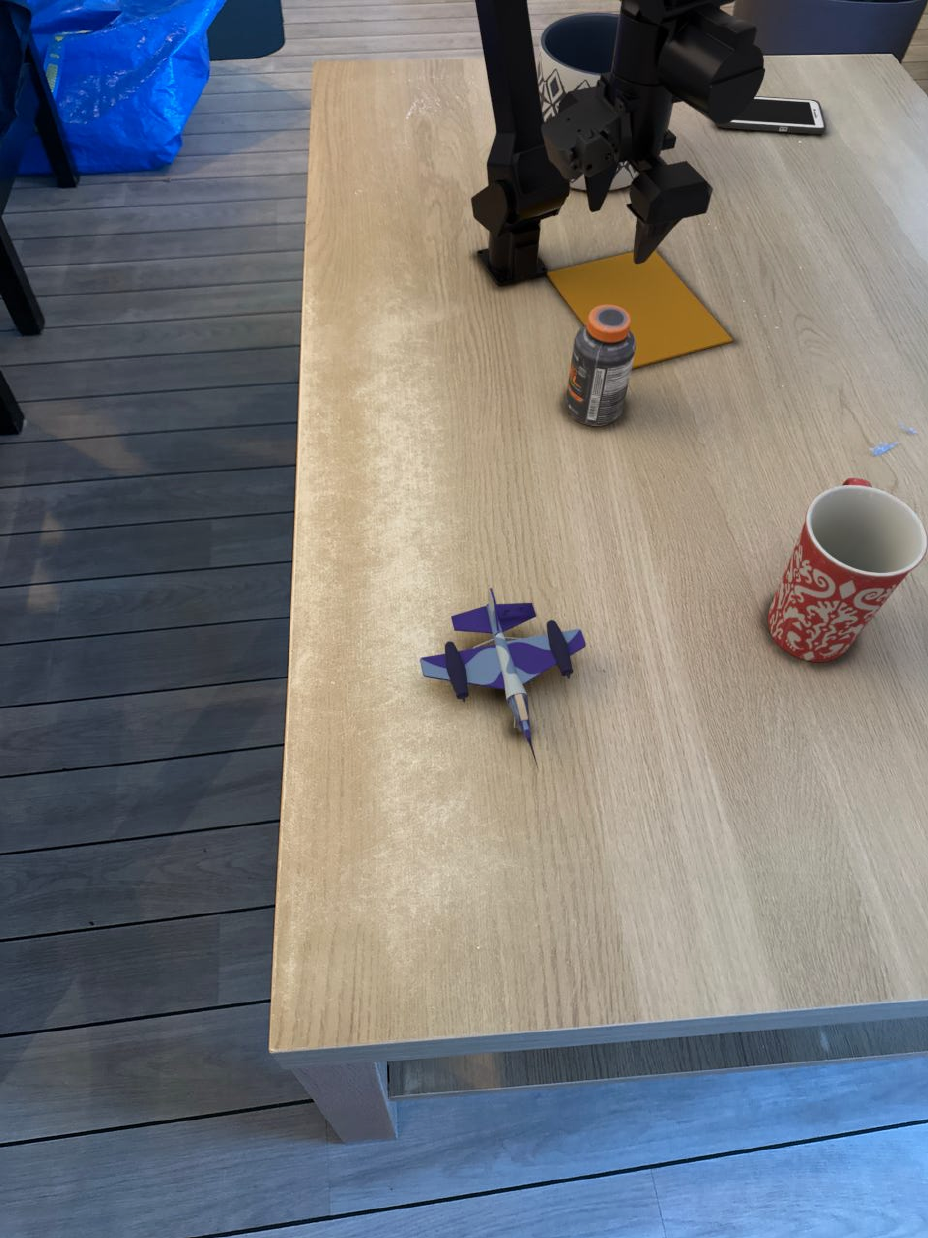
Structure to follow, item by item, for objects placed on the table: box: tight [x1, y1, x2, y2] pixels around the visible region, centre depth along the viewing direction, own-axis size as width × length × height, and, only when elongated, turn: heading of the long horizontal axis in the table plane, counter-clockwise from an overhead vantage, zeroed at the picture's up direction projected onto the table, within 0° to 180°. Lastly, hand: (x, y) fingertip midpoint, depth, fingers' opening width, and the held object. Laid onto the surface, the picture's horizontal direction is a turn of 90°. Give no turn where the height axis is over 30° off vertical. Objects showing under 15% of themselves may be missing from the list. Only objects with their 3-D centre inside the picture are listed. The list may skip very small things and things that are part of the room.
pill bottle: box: [564, 305, 636, 427], centre depth 94 cm, size 6×6×11 cm
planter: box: [536, 12, 639, 191], centre depth 119 cm, size 16×16×14 cm
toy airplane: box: [419, 587, 587, 772], centre depth 77 cm, size 13×14×4 cm
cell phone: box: [716, 95, 827, 135], centre depth 132 cm, size 8×15×1 cm, turn 86°
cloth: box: [545, 250, 733, 370], centre depth 108 cm, size 18×14×1 cm
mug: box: [767, 477, 928, 663], centre depth 79 cm, size 13×9×14 cm
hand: (616, 235), depth 93 cm, fingers open, 9 cm apart
